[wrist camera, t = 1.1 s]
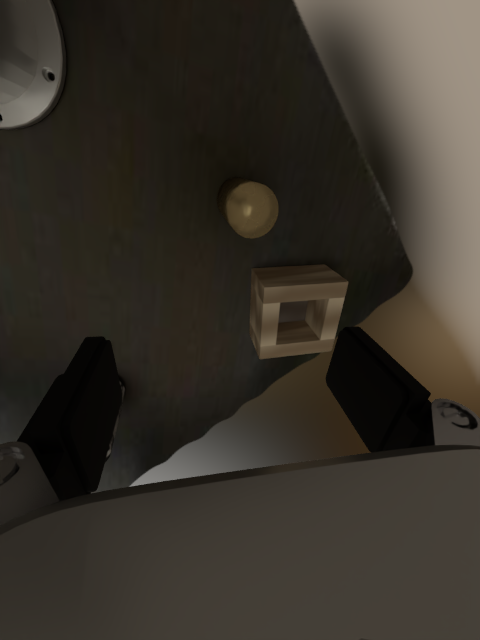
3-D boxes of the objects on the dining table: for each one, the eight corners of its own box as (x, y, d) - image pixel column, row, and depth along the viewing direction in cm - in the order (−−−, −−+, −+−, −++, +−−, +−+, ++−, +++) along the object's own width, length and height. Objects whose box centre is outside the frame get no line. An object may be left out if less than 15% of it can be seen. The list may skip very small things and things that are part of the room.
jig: (251, 268, 33) (264, 287, 28) (324, 264, 35) (348, 281, 30) (249, 333, 38) (259, 359, 33) (312, 327, 40) (331, 350, 35)
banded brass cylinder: (216, 177, 27) (227, 182, 21) (256, 177, 28) (280, 182, 21) (217, 221, 30) (228, 239, 23) (255, 220, 30) (276, 237, 24)
